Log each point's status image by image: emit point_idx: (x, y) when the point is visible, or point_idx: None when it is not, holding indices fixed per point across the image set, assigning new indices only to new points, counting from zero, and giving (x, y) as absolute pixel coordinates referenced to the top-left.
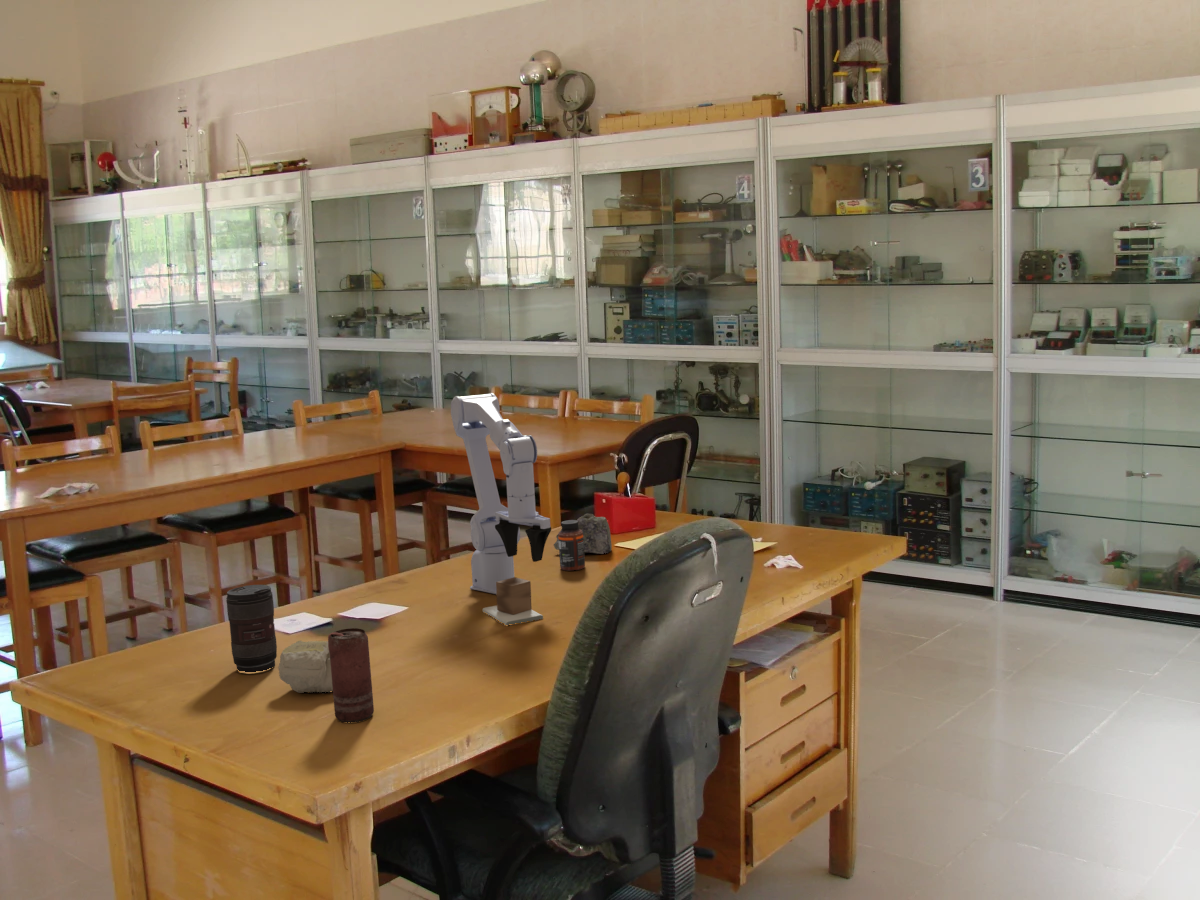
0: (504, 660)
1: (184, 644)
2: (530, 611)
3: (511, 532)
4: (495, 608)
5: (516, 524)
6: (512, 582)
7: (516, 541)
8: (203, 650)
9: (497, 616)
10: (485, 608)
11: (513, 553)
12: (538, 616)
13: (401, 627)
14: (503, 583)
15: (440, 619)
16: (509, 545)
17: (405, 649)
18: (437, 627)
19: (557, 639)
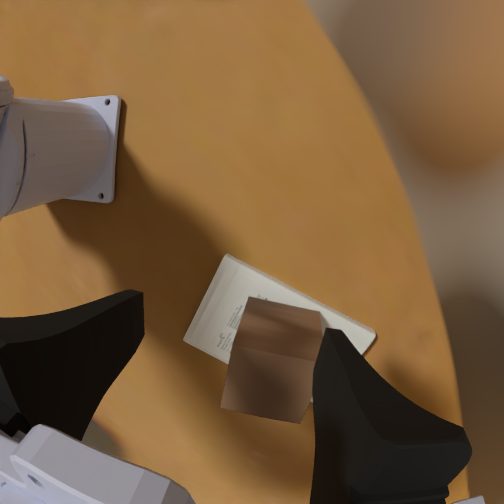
0: None
1: None
2: (327, 326)
3: (70, 390)
4: (215, 335)
5: (27, 378)
6: (274, 397)
7: (102, 320)
8: None
9: None
10: (190, 341)
11: (138, 318)
12: (368, 344)
13: (138, 436)
14: (255, 413)
15: (153, 398)
16: (114, 361)
17: (232, 493)
18: (189, 432)
19: (453, 407)
